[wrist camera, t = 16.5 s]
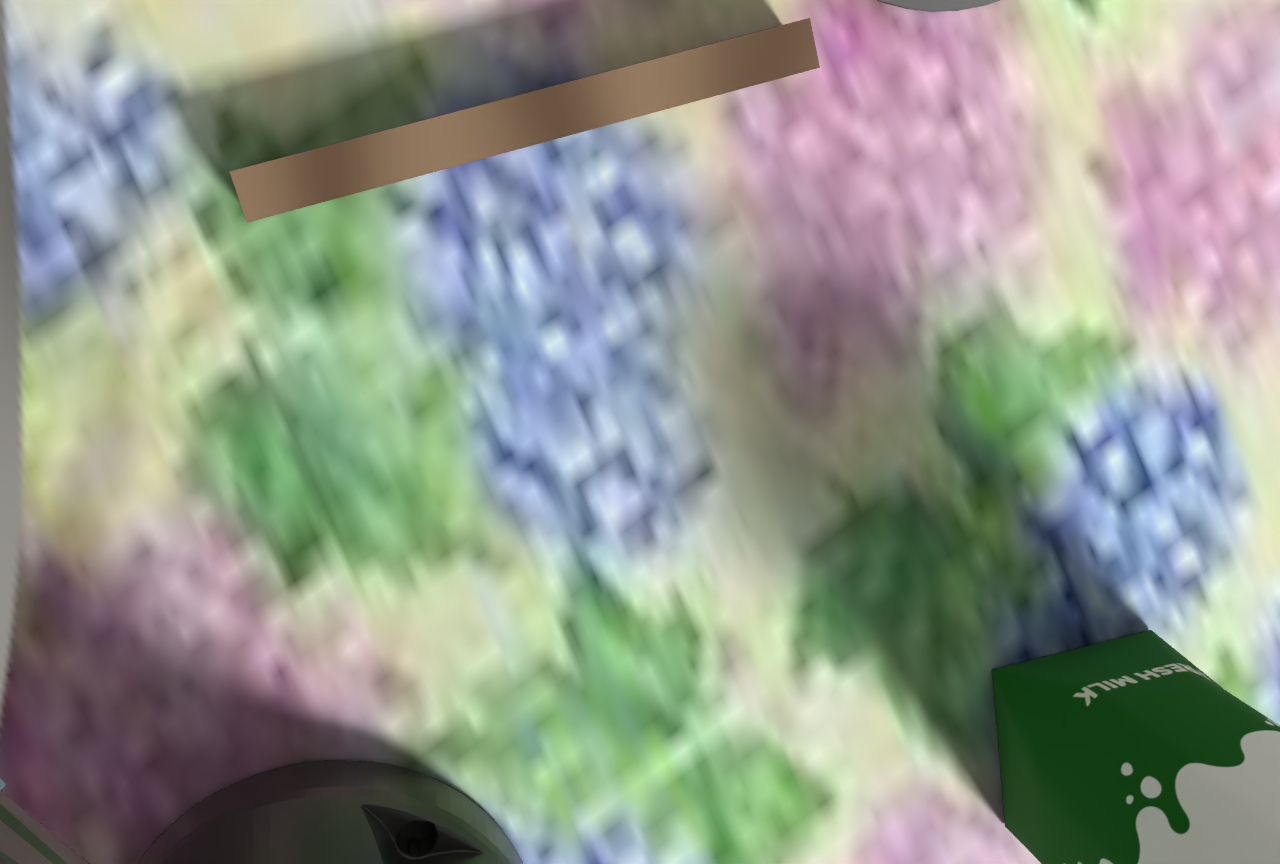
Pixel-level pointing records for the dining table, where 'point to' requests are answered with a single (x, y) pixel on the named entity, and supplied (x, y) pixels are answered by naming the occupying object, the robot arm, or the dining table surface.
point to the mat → (938, 4)
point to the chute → (523, 120)
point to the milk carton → (1134, 760)
